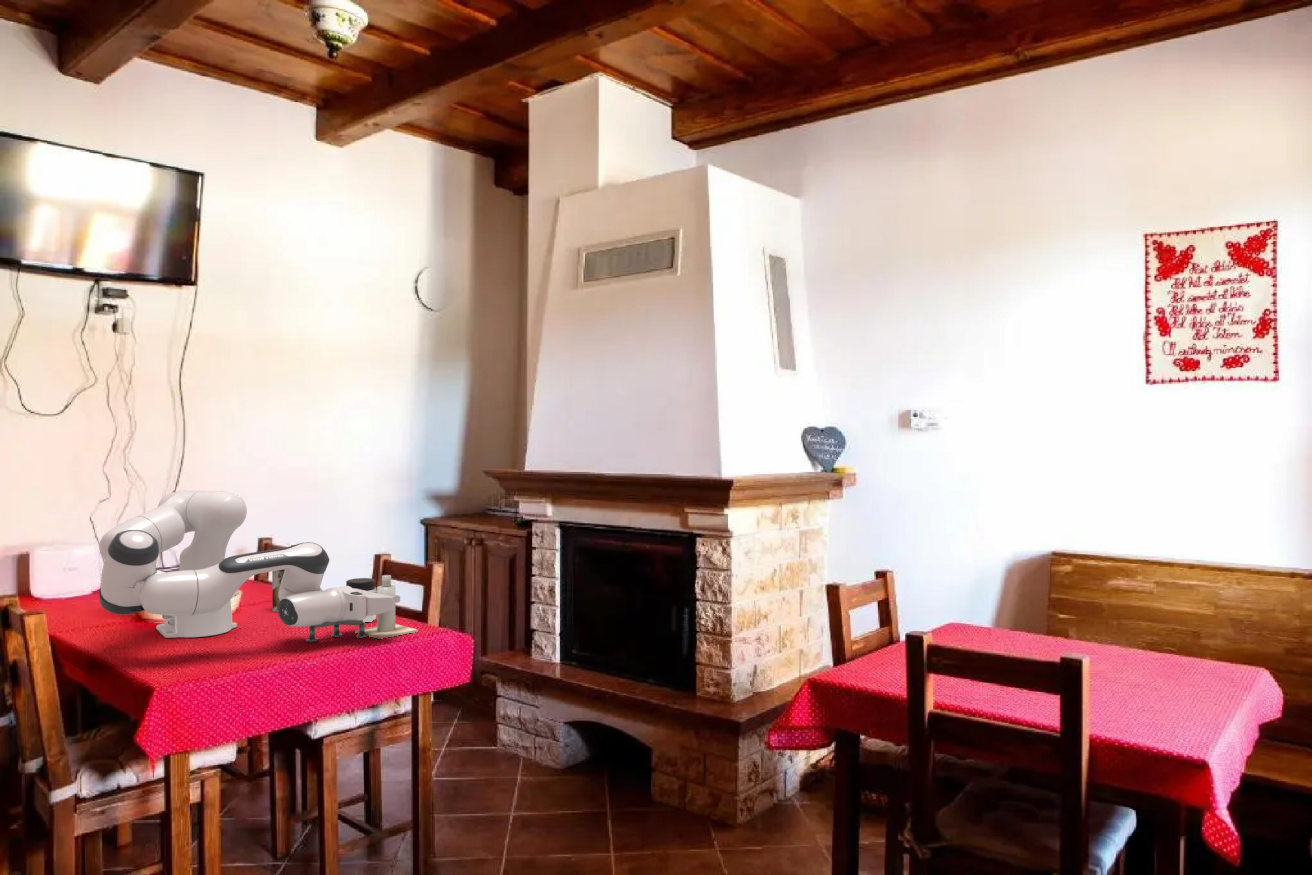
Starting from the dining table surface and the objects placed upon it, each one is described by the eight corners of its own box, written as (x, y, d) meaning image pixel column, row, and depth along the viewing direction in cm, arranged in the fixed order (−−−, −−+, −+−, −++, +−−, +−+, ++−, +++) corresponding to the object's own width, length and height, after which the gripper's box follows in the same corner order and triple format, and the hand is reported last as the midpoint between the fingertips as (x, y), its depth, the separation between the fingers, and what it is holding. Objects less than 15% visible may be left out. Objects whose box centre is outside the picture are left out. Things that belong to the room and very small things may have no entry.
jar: (348, 625, 254) (348, 583, 254) (341, 620, 261) (341, 579, 261) (380, 621, 259) (380, 580, 259) (372, 617, 266) (372, 577, 266)
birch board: (355, 633, 244) (355, 630, 244) (393, 626, 254) (393, 623, 254) (379, 639, 237) (379, 636, 237) (417, 632, 246) (417, 629, 246)
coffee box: (310, 609, 277) (310, 557, 277) (297, 613, 271) (297, 560, 271) (284, 607, 279) (284, 556, 279) (271, 611, 273) (271, 559, 273)
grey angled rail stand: (304, 641, 235) (304, 623, 235) (351, 632, 245) (352, 615, 245) (321, 646, 229) (321, 628, 229) (369, 637, 240) (369, 620, 240)
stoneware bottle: (373, 630, 245) (373, 575, 245) (389, 627, 248) (389, 573, 248) (383, 632, 242) (383, 577, 242) (398, 629, 245) (398, 575, 245)
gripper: (323, 609, 242) (368, 602, 252) (363, 620, 229) (410, 612, 239) (323, 586, 242) (368, 580, 252) (363, 596, 229) (410, 589, 239)
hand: (389, 596), depth 246 cm, fingers open, 8 cm apart
